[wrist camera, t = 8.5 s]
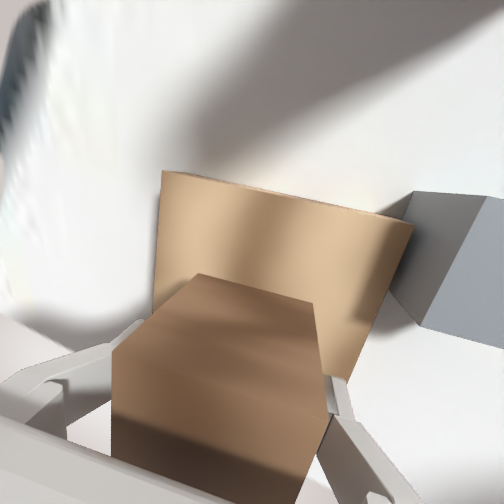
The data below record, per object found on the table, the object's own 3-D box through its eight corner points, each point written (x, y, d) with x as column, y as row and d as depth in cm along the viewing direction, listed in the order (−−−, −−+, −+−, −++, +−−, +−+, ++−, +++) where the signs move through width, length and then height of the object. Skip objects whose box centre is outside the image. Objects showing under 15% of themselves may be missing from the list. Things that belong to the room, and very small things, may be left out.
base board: (392, 217, 12) (414, 225, 10) (326, 384, 16) (331, 418, 14) (185, 172, 14) (162, 170, 12) (168, 336, 18) (148, 360, 15)
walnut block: (312, 303, 10) (329, 420, 5) (283, 393, 11) (275, 549, 6) (198, 272, 10) (111, 351, 5) (186, 363, 12) (111, 485, 7)
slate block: (518, 212, 11) (672, 233, 7) (468, 299, 13) (565, 365, 8) (413, 190, 12) (487, 196, 7) (377, 276, 14) (419, 326, 9)
